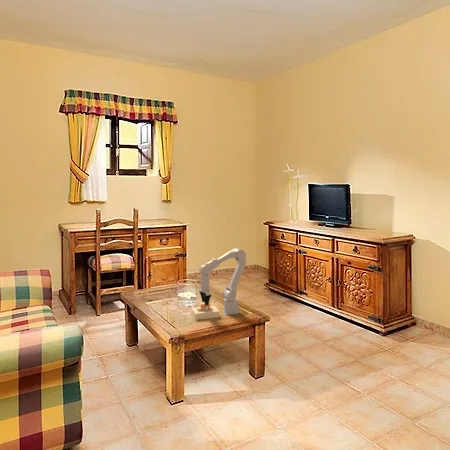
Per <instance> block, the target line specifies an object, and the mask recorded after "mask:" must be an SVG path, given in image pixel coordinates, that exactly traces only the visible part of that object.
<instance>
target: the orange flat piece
mask: <svg viewBox="0 0 450 450" xmlns="http://www.w3.org/2000/svg"><path fill="white" fill-rule="evenodd" d="M210 306H211V303H209V305H205V303H204V304H203V303H202V304H200V307H201V312H203V308H207V307H208V311H210Z"/></svg>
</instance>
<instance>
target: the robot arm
mask: <svg viewBox="0 0 450 450" xmlns="http://www.w3.org/2000/svg"><path fill="white" fill-rule="evenodd" d="M229 259H235V261H236V262H237V264H236V265H235V266H236V267H235V269H234V271H233V273H232V276H231V278H230V282H229V284H228V285H227V286H226V287H225V289H224V290H223V292H222V296H223V297H224V298H223V310H221V312H222V313H223V314H224V315H225V316H230V315H238V314H240V312H239V307H240V306H239V300H238V299H237V293H238V289H237V287H238V285H239V283H240V280H241V277H242V275H243V272H244V270H245V267H246V265H247V253H246V252H245V250H243V249H240V248H239V247H234V248H233V249H230V250H228V252H225V254H224V253H223V255H221V256H220V257H219V258H211V260H210V261H209V262H206V263H205V264H201V265H200V267H199V268H198V269H199V270H198V271H199V273H200V289H199V290H198V291H199V295H200V298H201V302H203V303H204V304H205V305H209V304H210V301H211V297H212V294H211V293H210V291H211V290H210V273H211V272H212V271H213V270H215V269H217V268H218V267H220V265H221V264H222V263H224V262H226V261H228V260H229Z"/></svg>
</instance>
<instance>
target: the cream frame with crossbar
mask: <svg viewBox="0 0 450 450" xmlns="http://www.w3.org/2000/svg"><path fill="white" fill-rule="evenodd" d="M191 315H192V318H194V320H195V321H197V320H208V319H215V318H220V315H221V314H220V310H219V309H218V308H217V307H216V306H215V305H210V311H208V307H207V308H203V312H201V306H200V307H191Z"/></svg>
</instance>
